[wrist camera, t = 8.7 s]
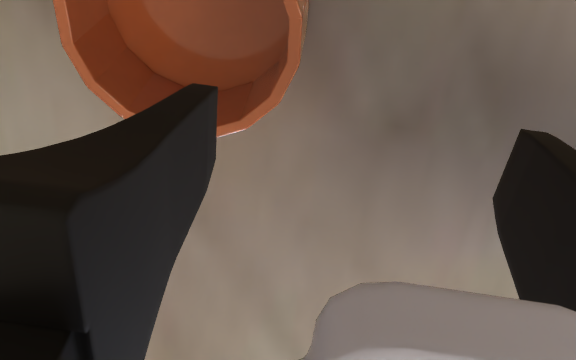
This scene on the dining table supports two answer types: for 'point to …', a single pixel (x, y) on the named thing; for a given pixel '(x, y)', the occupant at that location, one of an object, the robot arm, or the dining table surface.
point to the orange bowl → (186, 51)
